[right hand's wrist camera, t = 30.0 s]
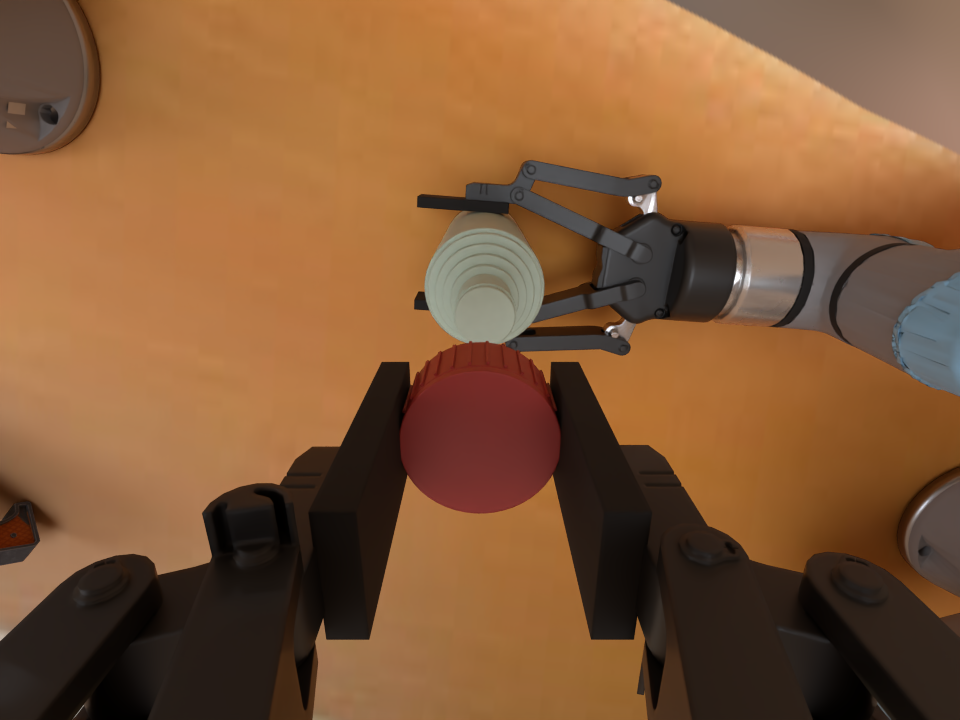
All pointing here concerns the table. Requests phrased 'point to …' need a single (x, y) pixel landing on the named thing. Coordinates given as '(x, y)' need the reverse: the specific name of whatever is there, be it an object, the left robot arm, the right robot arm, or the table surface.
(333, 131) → the table surface
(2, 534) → the tool
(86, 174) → the table surface
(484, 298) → the bottle
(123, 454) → the table surface
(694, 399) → the table surface
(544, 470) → the cap
